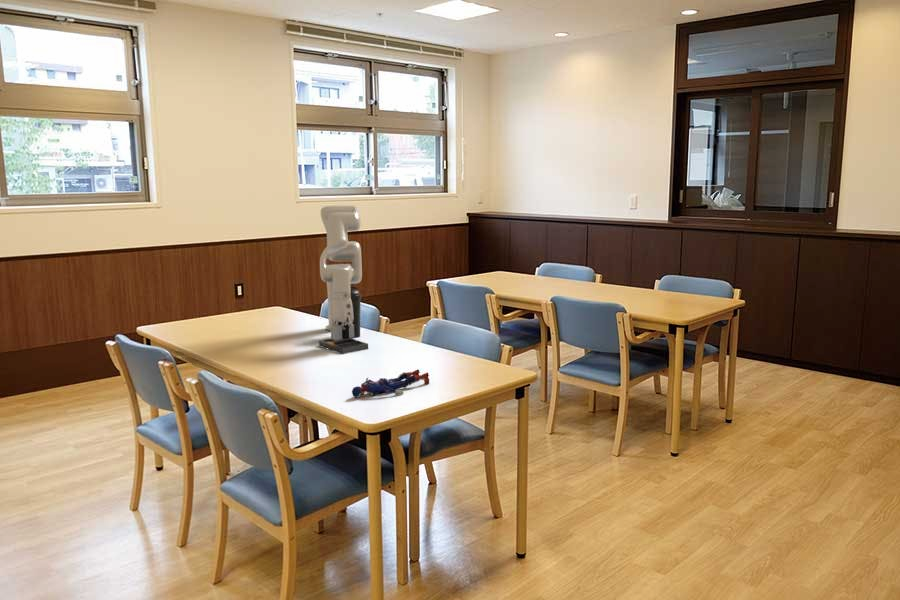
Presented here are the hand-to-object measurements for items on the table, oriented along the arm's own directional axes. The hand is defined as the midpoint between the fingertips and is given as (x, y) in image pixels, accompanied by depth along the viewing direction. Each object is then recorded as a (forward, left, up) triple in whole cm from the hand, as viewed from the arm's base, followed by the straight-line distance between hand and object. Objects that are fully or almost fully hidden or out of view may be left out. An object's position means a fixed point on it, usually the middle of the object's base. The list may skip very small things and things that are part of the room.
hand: (343, 337), depth 299 cm
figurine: (+21, +62, -5) cm, 66 cm away
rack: (0, 0, -5) cm, 5 cm away
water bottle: (-15, -16, -5) cm, 22 cm away
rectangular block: (0, 0, 0) cm, 0 cm away
